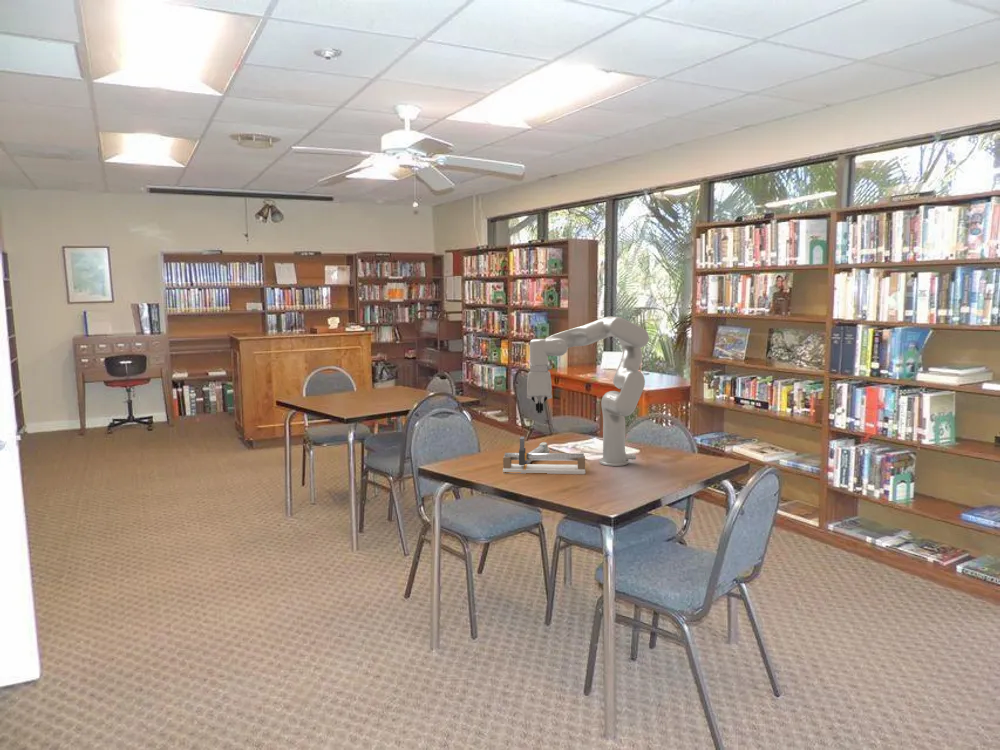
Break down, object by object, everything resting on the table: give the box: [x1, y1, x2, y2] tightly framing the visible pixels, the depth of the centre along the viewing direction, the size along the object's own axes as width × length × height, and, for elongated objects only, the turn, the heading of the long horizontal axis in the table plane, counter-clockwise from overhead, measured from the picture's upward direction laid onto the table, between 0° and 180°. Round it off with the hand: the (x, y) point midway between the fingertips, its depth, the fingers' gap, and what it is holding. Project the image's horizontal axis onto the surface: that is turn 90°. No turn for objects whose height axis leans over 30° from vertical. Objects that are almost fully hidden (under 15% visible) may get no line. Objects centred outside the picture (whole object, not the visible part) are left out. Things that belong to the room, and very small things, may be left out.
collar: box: [518, 436, 526, 465], centre depth 295 cm, size 2×6×11 cm, turn 175°
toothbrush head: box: [525, 441, 551, 464], centre depth 315 cm, size 5×7×25 cm
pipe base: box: [502, 454, 586, 475], centre depth 295 cm, size 34×10×6 cm, turn 85°
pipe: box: [504, 452, 585, 462], centre depth 294 cm, size 33×3×3 cm, turn 85°
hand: (539, 412), depth 292 cm, fingers closed
